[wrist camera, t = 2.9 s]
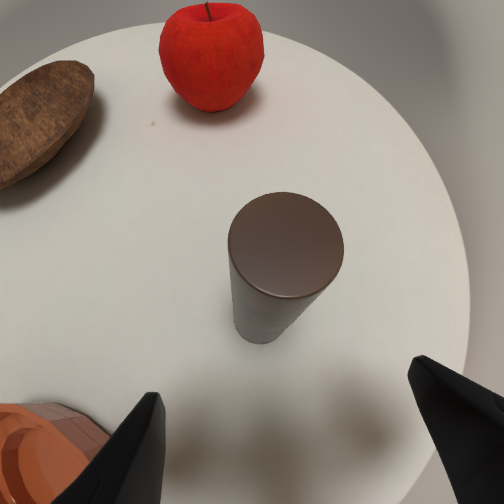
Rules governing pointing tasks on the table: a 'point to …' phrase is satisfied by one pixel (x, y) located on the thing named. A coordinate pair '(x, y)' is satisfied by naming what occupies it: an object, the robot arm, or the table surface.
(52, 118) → the bowl
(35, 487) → the mixing bowl
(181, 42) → the apple
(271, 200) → the brown tall cylinder
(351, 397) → the table surface
